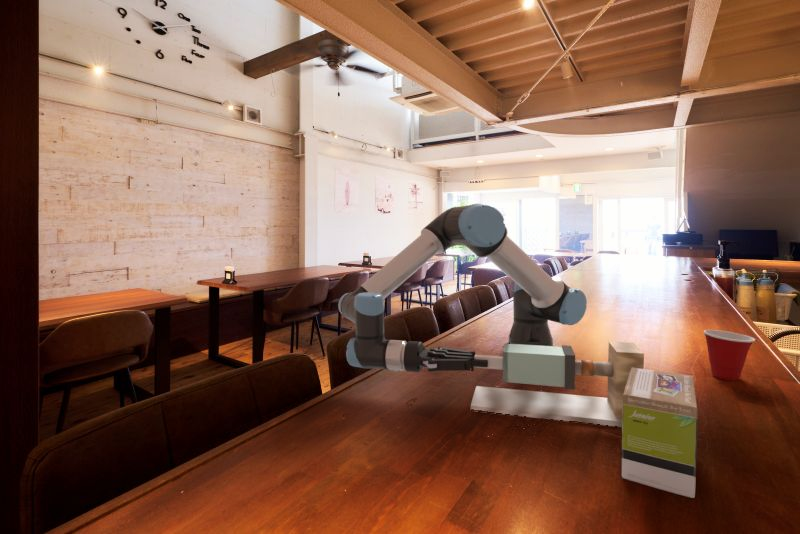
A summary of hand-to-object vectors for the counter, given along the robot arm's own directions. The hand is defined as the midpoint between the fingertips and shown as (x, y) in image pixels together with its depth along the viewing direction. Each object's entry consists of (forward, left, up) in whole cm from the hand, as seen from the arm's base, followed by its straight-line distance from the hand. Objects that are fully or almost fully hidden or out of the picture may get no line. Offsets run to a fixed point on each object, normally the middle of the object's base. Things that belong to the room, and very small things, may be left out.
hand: (502, 363), depth 93 cm
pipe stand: (+9, +7, -10) cm, 15 cm away
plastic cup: (+27, +60, -10) cm, 66 cm away
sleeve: (+5, +4, -3) cm, 7 cm away
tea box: (+33, +1, -10) cm, 34 cm away
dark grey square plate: (+11, +9, -4) cm, 15 cm away
